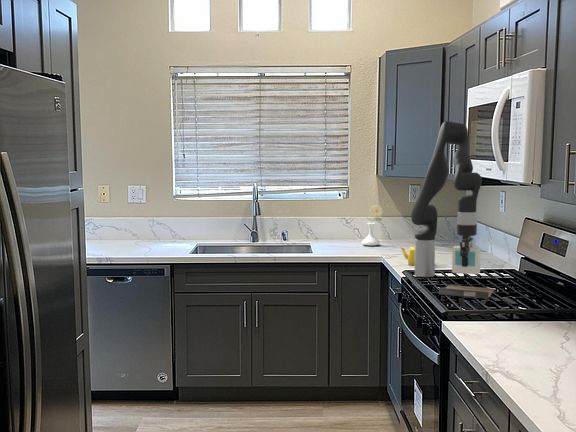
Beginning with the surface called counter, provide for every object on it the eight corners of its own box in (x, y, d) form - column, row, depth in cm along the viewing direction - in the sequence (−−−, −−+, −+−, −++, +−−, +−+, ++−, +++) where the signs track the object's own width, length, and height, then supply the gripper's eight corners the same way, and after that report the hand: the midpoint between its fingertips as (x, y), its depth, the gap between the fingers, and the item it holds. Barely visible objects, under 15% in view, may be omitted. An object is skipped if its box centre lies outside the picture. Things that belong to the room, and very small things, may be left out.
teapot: (417, 267, 311) (418, 248, 310) (397, 263, 322) (398, 245, 321) (438, 264, 319) (438, 245, 318) (417, 260, 330) (418, 242, 329)
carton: (454, 270, 252) (455, 245, 251) (480, 272, 248) (480, 247, 247) (452, 272, 248) (452, 247, 247) (477, 274, 243) (478, 249, 242)
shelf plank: (448, 288, 265) (448, 279, 265) (495, 292, 257) (495, 282, 256) (438, 297, 249) (439, 288, 249) (488, 302, 241) (488, 292, 240)
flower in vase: (360, 246, 377) (360, 205, 374) (363, 243, 388) (363, 203, 385) (381, 247, 373) (381, 205, 370) (384, 244, 384) (384, 204, 381)
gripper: (473, 225, 238) (472, 269, 240) (479, 221, 250) (479, 262, 252) (453, 224, 241) (452, 267, 243) (460, 220, 254) (460, 261, 256)
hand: (466, 265), depth 248 cm, fingers closed on carton, 5 cm apart
